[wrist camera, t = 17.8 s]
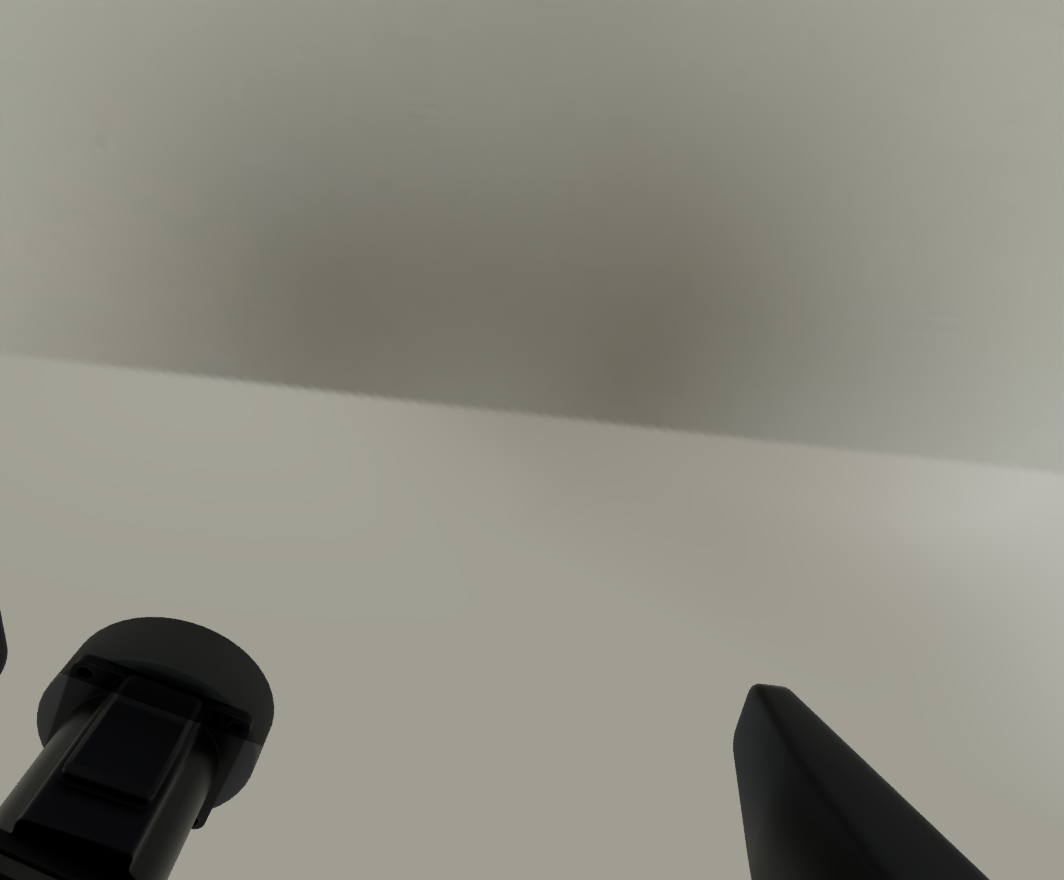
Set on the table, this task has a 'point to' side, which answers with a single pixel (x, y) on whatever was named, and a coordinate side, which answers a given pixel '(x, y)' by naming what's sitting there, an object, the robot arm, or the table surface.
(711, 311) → the table surface
